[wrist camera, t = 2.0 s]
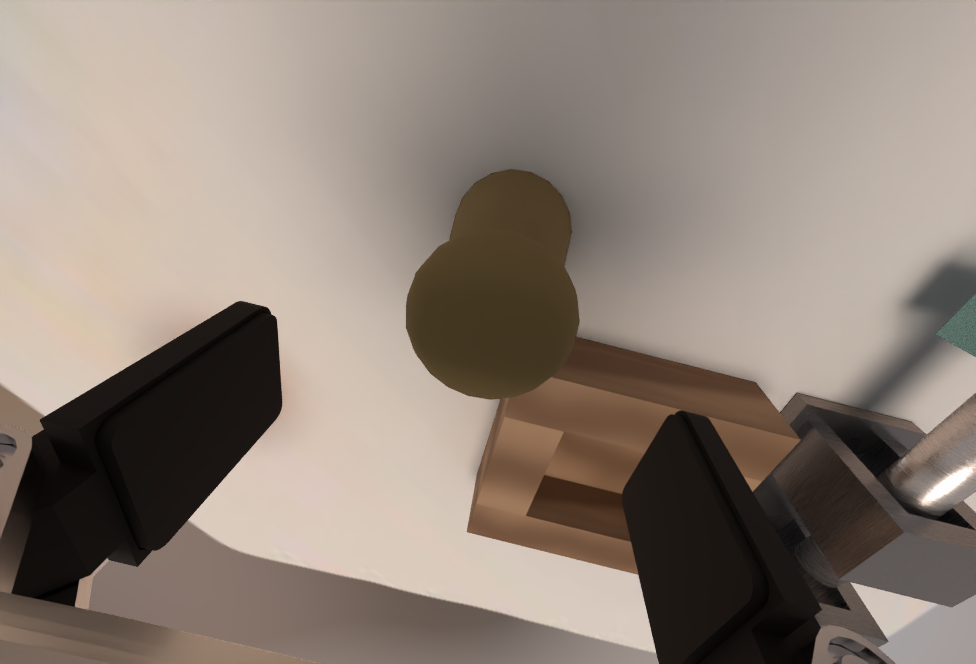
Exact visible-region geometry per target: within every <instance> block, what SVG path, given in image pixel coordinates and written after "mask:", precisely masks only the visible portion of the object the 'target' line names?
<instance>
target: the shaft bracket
mask: <svg viewBox="0 0 976 664" xmlns="http://www.w3.org/2000/svg"><path fill="white" fill-rule="evenodd" d="M780 414H781V415H782V417H783V418H784V419H785V420H786V422H787V423H788V424H789V425H790V427H791V428H792V429H793V431H794V432H795V433H796V434H797V436H798V437H799V438H800V439H801V440H800V442H799V443H798V444H797V445H796V446H795V447H794V448H793V449H792V450H791V451H790V452H789V453H788V454H787V455H786V457H785V458H784V459H783V460H782V461H781V462H780V463H779V464H778V465H777V466H776V467H775V468H774V469H773V471H772V472H771V473H770V474H769V475H768V476H767V477H766V478H765V479H764V480H763V481H762V482H761V483H760V484H759V486H758V487H757V488H756V489H755V490H754V491H753V493H754V495H755V497H756V498H757V500H758V502H759V504H760V505H761V507H762V509H763V510H764V512H765V514H766V515H767V517H768V519H769V520H770V522H771V524H772V526H773V527H774V529H775V531H776V532H777V534H778V536H779V537H780V539H781V541H782V542H783V544H784V546H785V548H786V549H787V551H788V553H789V554H790V556H791V558H792V559H793V561H794V563H795V564H796V566H797V568H798V570H799V571H800V573H801V575H802V576H803V578H804V580H805V581H806V583H807V585H808V586H809V588H810V590H811V592H812V593H813V595H814V597H815V598H816V600H817V602H818V603H819V605H820V607H821V608H822V610H821V611H820V612H819V613H817V614H816V615H815V618H816V620H817V621H818V623H819V625H820V627H821V628H823V627H826V626H828V625H832V626H839V627H843V628H846V629H848V630H850V631H852V632H855V633H857V634H859V635H860V636H862V637H863V638H865V639H866V640H868V641H869V642H871V643H872V644H874V645H875V646H876V647H880V646H882V645H883V644H885V643H887V642H888V640H887V638H886V637H885V635H884V634H883V632H882V631H881V629H880V627H879V626H878V624H877V623H876V621H875V620H874V618H873V617H872V615H871V614H870V612H869V611H868V609H867V608H866V606H865V605H864V603H863V601H862V600H861V598H860V597H859V595H858V594H857V592H856V591H855V589H854V588H853V586H852V585H851V583H850V582H852V583H856V584H860V585H864V586H868V587H872V588H876V589H880V590H884V591H888V592H892V593H896V594H900V595H904V596H908V597H912V598H916V599H920V600H924V601H929V602H933V603H937V604H941V605H945V606H949V607H953V606H955V605H957V604H959V603H961V602H963V601H964V600H966V599H968V598H970V597H972V596H974V595H975V594H976V513H975V512H974V511H973V510H972V509H971V508H970V507H969V506H968V505H967V504H966V503H965V502H964V501H962V502H960V503H959V504H957V505H956V506H954V507H953V508H952V509H950V510H949V511H947V512H946V513H944V514H943V515H942V516H940V517H939V518H937V519H936V520H932V519H928V518H924V517H920V516H916V515H912V514H908V513H907V512H906V511H905V510H904V508H903V507H902V506H901V505H900V504H899V503H898V502H897V501H896V500H895V498H894V497H893V496H892V495H891V494H890V493H889V492H888V491H887V490H886V489H885V487H884V486H883V485H882V484H881V483H880V482H879V481H878V480H877V479H876V478H877V477H878V476H879V475H880V474H881V473H882V472H884V471H885V470H886V469H887V468H888V467H890V466H891V465H892V464H893V463H894V462H895V461H897V460H898V459H899V458H900V457H901V456H902V455H904V454H905V453H906V452H907V451H908V450H909V449H911V448H912V447H913V446H914V445H915V444H916V443H918V442H919V441H920V440H921V439H922V438H923V437H925V436H926V435H927V434H926V433H924V432H923V431H922V430H921V429H920V428H918V427H917V426H916V425H915V424H914V423H913V422H910V421H906V420H902V419H898V418H894V417H890V416H886V415H882V414H878V413H874V412H870V411H866V410H862V409H858V408H854V407H850V406H846V405H842V404H838V403H834V402H830V401H826V400H822V399H818V398H814V397H811V396H807V395H803V394H799V393H797V394H796V395H795V396H794V397H793V399H792V400H791V401H790V402H789V403H788V405H787V406H786V407H785V408H784V409H783V410H782V412H781V413H780ZM810 534H811V536H812V537H813V539H814V540H815V542H816V543H817V545H818V547H819V548H820V550H821V551H822V553H823V554H824V556H825V558H826V559H827V561H828V562H829V564H830V565H831V567H832V569H833V570H834V572H835V573H836V575H837V577H838V578H839V579H840V580H844V581H848V582H846V583H845V584H843V585H842V586H841V587H839V588H831V587H828V586H825V585H823V584H822V583H820V582H818V581H817V580H815V579H814V578H813V577H812V576H811V575H809V574H808V573H807V572H806V571H805V569H804V568H803V567H802V566H801V564H800V563H799V561H798V560H797V558H796V555H795V547H796V546H797V545H798V544H800V543H801V542H802V541H803V540H804V539H805V538H807V537H808V536H809V535H810Z"/></svg>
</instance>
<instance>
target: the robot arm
mask: <svg viewBox="0 0 976 664" xmlns="http://www.w3.org/2000/svg"><path fill="white" fill-rule="evenodd" d="M281 408H282V391H281V375H280V360H279V344H278V328H277V319H276V317H275V316H273V315H271V312H270V310H269V309H268V308H267V307H264V306H260V305H256V304H252V303H248V302H244V301H239V302H236V303H234V304H233V305H231V306H229V307H228V308H226V309H224V310H223V311H221V312H219V313H218V314H216V315H214V316H212V317H211V318H209V319H207V320H206V321H204V322H202V323H201V324H199V325H197V326H196V327H194V328H192V329H191V330H189V331H187V332H186V333H184V334H182V335H181V336H179V337H177V338H176V339H174V340H172V341H171V342H169V343H167V344H166V345H164V346H162V347H161V348H159V349H157V350H156V351H154V352H152V353H151V354H149V355H147V356H146V357H144V358H142V359H141V360H139V361H137V362H135V363H134V364H132V365H130V366H129V367H127V368H125V369H124V370H122V371H120V372H119V373H117V374H115V375H114V376H112V377H110V378H109V379H107V380H105V381H104V382H102V383H100V384H99V385H97V386H95V387H94V388H92V389H90V390H89V391H87V392H85V393H84V394H82V395H80V396H79V397H77V398H75V399H74V400H72V401H70V402H69V403H67V404H65V405H63V406H62V407H60V408H58V409H57V410H55V411H53V412H52V413H50V414H48V415H47V416H45V417H43V418H42V419H40V422H41V424H42V426H43V428H44V430H42V431H41V432H39V433H38V434H36V435H34V436H33V437H31V436H30V435H29V434H28V433H27V432H26V431H25V430H23V429H20V428H17V427H14V426H4V425H0V664H321V663H318V662H314V661H309V660H305V659H301V658H297V657H292V656H288V655H284V654H279V653H275V652H271V651H267V650H262V649H258V648H254V647H249V646H245V645H240V644H236V643H232V642H228V641H223V640H219V639H215V638H210V637H206V636H202V635H197V634H193V633H189V632H184V631H180V630H175V629H171V628H167V627H163V626H158V625H154V624H149V623H145V622H141V621H137V620H132V619H128V618H124V617H119V616H115V615H110V614H106V613H101V612H96V611H92V610H88V606H89V599H90V593H91V586H92V579H93V573H94V571H95V570H96V569H97V568H98V567H99V566H100V565H101V564H102V563H103V562H104V561H105V560H106V559H107V558H108V560H111V561H115V562H120V563H124V564H128V565H132V566H136V567H138V566H139V565H140V564H141V563H142V561H143V560H144V559H145V558H146V557H147V556H148V555H149V554H150V553H151V551H152V550H158V549H161V548H162V547H163V546H165V545H166V544H167V543H168V542H169V541H170V539H171V538H172V537H173V536H174V535H175V534H176V533H177V532H178V530H179V529H180V528H181V527H182V526H183V525H184V524H185V522H186V521H187V520H188V519H189V518H190V517H191V516H192V515H193V513H194V512H195V511H196V510H197V509H198V508H199V507H200V505H201V504H202V503H203V502H204V501H205V500H206V499H207V497H208V496H209V495H210V494H211V493H212V492H213V491H214V489H215V488H216V487H217V486H218V485H219V484H220V483H221V481H222V480H223V479H224V478H225V477H226V476H227V475H228V473H229V472H230V471H231V470H232V469H233V468H234V467H235V465H236V464H237V463H238V462H239V461H240V460H241V459H242V458H243V456H244V455H245V454H246V453H247V452H248V451H249V450H250V448H251V447H252V446H253V445H254V444H255V443H256V442H257V440H258V439H259V438H260V437H261V436H262V435H263V434H264V432H265V431H266V430H267V429H268V428H269V427H270V426H271V424H272V423H273V422H274V421H275V420H276V419H277V417H278V416H279V414H280V411H281ZM622 505H623V509H624V514H625V518H626V522H627V527H628V531H629V535H630V540H631V544H632V549H633V553H634V557H635V562H636V566H637V570H638V575H639V579H640V583H641V588H642V592H643V597H644V601H645V605H646V610H647V614H648V618H649V623H650V627H651V631H652V636H653V640H654V644H655V649H656V653H657V658H658V661H659V664H895V663H894V661H892V660H891V659H890V658H889V657H888V656H887V655H886V654H884V653H883V652H882V651H881V650H880V649H879V648H878V647H876V646H875V645H874V644H872V643H871V642H869V641H868V640H866V639H865V638H863V637H862V636H860V635H859V634H857V633H855V632H852V631H850V630H848V629H846V628H843V627H839V626H832V625H828V626H826V627H823V628H821V627H820V625H819V623H818V621H817V620H816V618H815V615H816V614H817V613H819V612H820V611H821V610H822V608H821V607H820V605H819V603H818V602H817V600H816V598H815V597H814V595H813V593H812V592H811V590H810V588H809V586H808V585H807V583H806V581H805V580H804V578H803V576H802V575H801V573H800V571H799V570H798V568H797V566H796V564H795V563H794V561H793V559H792V558H791V556H790V554H789V553H788V551H787V549H786V548H785V546H784V544H783V542H782V541H781V539H780V537H779V536H778V534H777V532H776V531H775V529H774V527H773V526H772V524H771V522H770V520H769V519H768V517H767V515H766V514H765V512H764V510H763V509H762V507H761V505H760V504H759V502H758V500H757V498H756V497H755V495H754V493H753V492H752V490H751V488H750V487H749V485H748V483H747V482H746V480H745V478H744V476H743V475H742V473H741V471H740V470H739V468H738V466H737V465H736V463H735V461H734V460H733V458H732V456H731V454H730V453H729V451H728V449H727V448H726V446H725V444H724V443H723V441H722V439H721V438H720V436H719V434H718V432H717V431H716V429H715V427H714V426H713V424H712V422H711V421H710V419H709V418H708V417H706V416H703V415H699V414H695V413H691V412H687V411H683V410H681V411H678V412H676V413H675V415H673V414H670V415H669V416H667V418H666V419H665V421H664V422H663V424H662V426H661V427H660V429H659V431H658V432H657V434H656V436H655V437H654V439H653V441H652V442H651V444H650V446H649V447H648V449H647V450H646V452H645V454H644V455H643V457H642V459H641V460H640V462H639V464H638V465H637V467H636V469H635V470H634V472H633V474H632V475H631V477H630V478H629V480H628V482H627V483H626V485H625V487H624V489H623V492H622Z"/></svg>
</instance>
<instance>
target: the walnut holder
mask: <svg viewBox="0 0 976 664" xmlns="http://www.w3.org/2000/svg"><path fill="white" fill-rule="evenodd" d="M681 410H683V411H687V412H691V413H695V414H699V415H703V416H706V417H708V418H709V419H710V421H711V422H712V424H713V426H714V427H715V429H716V431H717V432H718V434H719V436H720V438H721V439H722V441H723V443H724V444H725V446H726V448H727V449H728V451H729V453H730V454H731V456H732V458H733V460H734V461H735V463H736V465H737V466H738V468H739V470H740V471H741V473H742V475H743V476H744V478H745V480H746V482H747V483H748V485H749V487H750V488H751V490H752V492H753V491H754V490H755V489H756V488H757V487H758V486H759V484H760V483H761V482H762V481H763V480H764V479H765V478H766V477H767V476H768V475H769V474H770V473H771V472H772V471H773V469H774V468H775V467H776V466H777V465H778V464H779V463H780V462H781V461H782V460H783V459H784V458H785V457H786V455H787V454H788V453H789V452H790V451H791V450H792V449H793V448H794V447H795V446H796V445H797V444H798V443H799V442H800V440H801V439H800V438H799V437H798V436H797V434H796V433H795V432H794V431H793V429H792V428H791V427H790V425H789V424H788V423H787V422H786V420H785V419H784V418H783V417H782V415H781V414H780V413H779V411H778V410H777V409H776V408H775V406H774V405H773V404H772V403H771V401H770V400H769V399H768V397H767V396H766V395H765V394H764V392H763V391H762V390H761V389H760V387H759V386H758V385H757V383H755V382H751V381H747V380H743V379H739V378H735V377H731V376H727V375H723V374H719V373H715V372H712V371H708V370H704V369H700V368H696V367H692V366H688V365H684V364H680V363H676V362H672V361H668V360H664V359H660V358H656V357H652V356H648V355H644V354H640V353H636V352H632V351H628V350H624V349H620V348H616V347H612V346H609V345H605V344H601V343H597V342H593V341H589V340H585V339H581V338H577V337H575V341H574V345H573V348H572V351H571V354H570V355H569V357H568V358H567V360H566V361H565V362H564V364H563V365H562V367H561V368H560V369H559V371H558V372H557V373H556V374H555V375H554V376H552V377H551V378H550V379H548V380H547V381H545V382H544V383H543V384H541V385H540V386H539V387H537V388H536V389H534V390H532V391H530V392H527V393H524V394H521V395H518V396H516V397H513V398H502V399H501V400H500V403H499V406H498V409H497V413H496V416H495V419H494V422H493V425H492V429H491V432H490V435H489V438H488V442H487V445H486V448H485V451H484V454H483V458H482V461H481V464H480V467H479V470H478V474H477V477H476V483H475V488H474V494H473V500H472V505H471V511H470V517H469V522H468V528H467V532H468V533H472V534H476V535H481V536H485V537H489V538H493V539H497V540H501V541H505V542H509V543H513V544H517V545H521V546H525V547H529V548H533V549H537V550H541V551H545V552H549V553H553V554H557V555H561V556H565V557H569V558H573V559H577V560H581V561H585V562H589V563H593V564H597V565H601V566H605V567H609V568H613V569H617V570H621V571H626V572H630V573H634V574H638V570H637V566H636V562H635V557H634V553H633V549H632V544H631V540H630V535H629V531H628V527H627V522H626V518H625V514H624V509H623V505H622V492H623V489H624V487H625V485H626V483H627V482H628V480H629V478H630V477H631V475H632V474H633V472H634V470H635V469H636V467H637V465H638V464H639V462H640V460H641V459H642V457H643V455H644V454H645V452H646V450H647V449H648V447H649V446H650V444H651V442H652V441H653V439H654V437H655V436H656V434H657V432H658V431H659V429H660V427H661V426H662V424H663V422H664V421H665V419H666V418H667V416H669V415H670V414H673V415H675V413H676V412H678V411H681Z"/></svg>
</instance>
